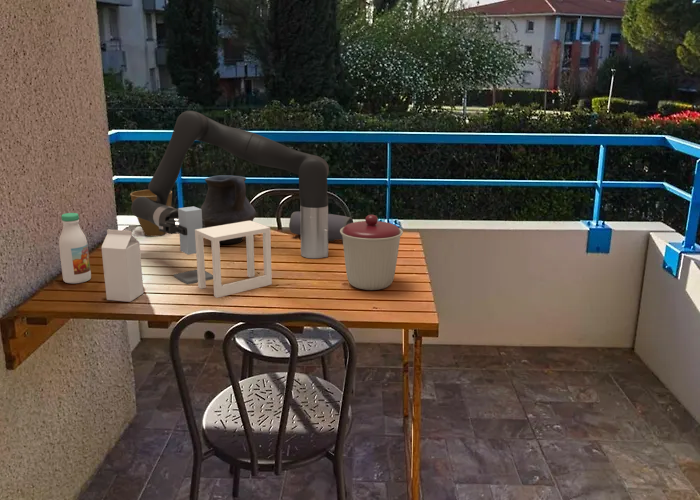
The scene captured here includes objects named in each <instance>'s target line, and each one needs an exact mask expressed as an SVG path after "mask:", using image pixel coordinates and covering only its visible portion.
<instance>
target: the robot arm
mask: <svg viewBox="0 0 700 500" xmlns="http://www.w3.org/2000/svg"><path fill="white" fill-rule="evenodd" d="M195 141H196V142H203V143H205V144H209V145H212V146H216V147H219V148H221V149H223V150H224V151H226V152H228V153H230V154H232V155H233V156H235V157H237V158H239V159H242V160H244V161H247V162H250V163H252V164H255V165H258V166H263V167H268V168H273V169H274V168H275V169H279V170H280V169H281V170H285V171H288V172H290V173H293V174H295V175H297V176H298V193H299V195H298V196H299V202H300V203H299V204H300V209H299V210H300V219H301V235H300V256H301V257H303V258H307V259H322V258H328V257H329V241H328V214H329V196H328V175H329V172H330V166H329V164H328V163H327V160H325V159H324V158H323V157H321V156H319V155H315V154H310V153H306V152H303V151H300V150H296V149H293V148H290V147H287V146H286V145H284V144H281V143H279V142H277V141H274V140H273V139H270V138H268V137H265V136H263V135H259V134H257V133H255V132H252V131H248V130H245V129H241V128H236V127H231V126H228V125H225V124H223V123H220V122H218V121H215V120H214V119H212V118H209V117H207V116H206V115H204V114H202V113H200V112H199V111H198V112H197V111H195V110H186V111H183V112H182V113H181V114H179V116H178V117H177V119H176V122H175V125H174V128H173V130H172V133H171V138H170V139H169V143H168V146H167V147H166V150H165V152H164V154H163V156H162V158H161V161H160V162H159V165H158V166H157V169H156V170H155V172H154V173H153V176H152V178H151V179H150V182H149V183H148V186H147V188H148V189H147V190H150V191H151V192H152V193H154V194H155V195H157V200H156V201H154V200H151V199H149V198H146V197H138V198H136V199H135V200H134V201H133V203H131V206H130V207H131V213H132V214H133V215H134V216H135V217H136V218H137V217H139V218H141V219H144V220H147V221H150V222H151V223H153V224H155V225H157V226H158V227H159V231H161V232H165V234H169V235H177V234H179V235H180V234H183V235H187V228H185V227H183V226H180V224H179V216H178V208H175V207H173V206H171V207H170V206H166V204H167V200H168V196H169V193H170V191H172V189H173V188H174V186H175V184H176V182H177V179H178V177H179V175H180V171H181V169H182V165H183V162H184V159H185V157H186V155H187V153H188V151H189V149H190V148H191V147H192V145H193V143H194V142H195ZM204 222H205V221H204V220H203V219H202V228H205V223H204Z"/></svg>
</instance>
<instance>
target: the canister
mask: <svg viewBox="0 0 700 500" xmlns="http://www.w3.org/2000/svg"><path fill="white" fill-rule="evenodd" d="M378 219H379V218H378V216H377V215H374V214H368V215H367V216H365V220H362V221H360V220H359V221H353V223H350V224H348V225H346V226H345V227H343V228H341V229H340V233H341V234H342V237H343V240H342V244H343V245H342V246H343V254H344V255H343V256H344V257H343V258H344V264H345V265H344V266H345V272H346V279H347V281H348V282H349V284H350V285H351V286H352V287H354V288H356V289H360V290H364V291H365V290H366V291H376V290H378V291H379V290H383V289H386V288H389V287H390V286H391V285H392V283H393V282H394V279H395V275H396V274H395V273H396V269H397V268H396V267H397V262H398V254H399V248H400V241H401V236H403V234H404V233H403V232H404V231H403V229H401V228H400V227H398V226H397V225H396V224H393V223H390V222H385V221H379V220H378Z"/></svg>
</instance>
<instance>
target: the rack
mask: <svg viewBox="0 0 700 500" xmlns="http://www.w3.org/2000/svg"><path fill="white" fill-rule="evenodd" d="M261 234H262V253H263V254H262V255H263V257H262V258H263V275H259V276H256V271H255V246H254V245H255V244H254V235H261ZM271 234H272V233H271V227H270V226H267V225H264V224H261V223H259V222H255V221H254V220H253V221H244V222H238V223H232V224H226V225H220V226H214V227H208V228H202V229H196V230H195V241H196V253H195V255H196V270H197V274H198V282H197V288H199V289H202V290H203V289H206V288H207V283H206V281H207V280H206V279H205V271H206V265H205V264H206V263H205V247H204V239H206V240H209V241H210V240H211V241H210V244H211V260H212V261H211V262H212V275H213V279H212V280H213V281H212V282H213V296H214V297H215V298H216V299H218V298H222V297H227V296H230V295H234V294H238V293H242V292H247V291H250V290H254V289H258V288H263V287H267V286H270V285H271V286H272V284H273V277H272V250H271V249H272V245H271V244H272V242H271V239H272V238H271V237H272V235H271ZM238 237H244V238H245V242H246V243H245V245H246V248H245V250H246V270H247V271H246V275H247V277H248V278H246V279H242V280H238V281H234V282H229V283H225V284H222V270H221V267H222V266H221V249H220V248H221V247H220V246H221V244H220V243H219V241H222V240H228V239H233V238H238Z"/></svg>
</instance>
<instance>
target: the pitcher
mask: <svg viewBox="0 0 700 500" xmlns="http://www.w3.org/2000/svg"><path fill="white" fill-rule="evenodd" d="M246 180H247V178H246V177H245V176H241V175H226V174H225V175H224V174H223V175H222V174H221V175H213V176H209V177H206V178H205V179H204V181H205V183H206V184H207V186H208V187H207V191H206V195H205V198H204V202H203V203H202V205H201V207H200V208H199V209H202V219H203V220H204V221H205V222H204V223H205V228H208V227H214V226H220V225H226V224H232V223H238V222H244V221H253V222H254V219H255V217H256V215H257V212H256V209H255V207H254V206H253V205H252V203H250V200H249V199H248V198H247V195H246V194H247V187H246V183H245V182H246ZM244 238H245V236H244V237H238V238H233V239H228V240H222V241H219V243H220V245H234V244H239V243H241V242H242V240H243V239H244ZM209 241H210V242H211V240H209Z"/></svg>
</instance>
